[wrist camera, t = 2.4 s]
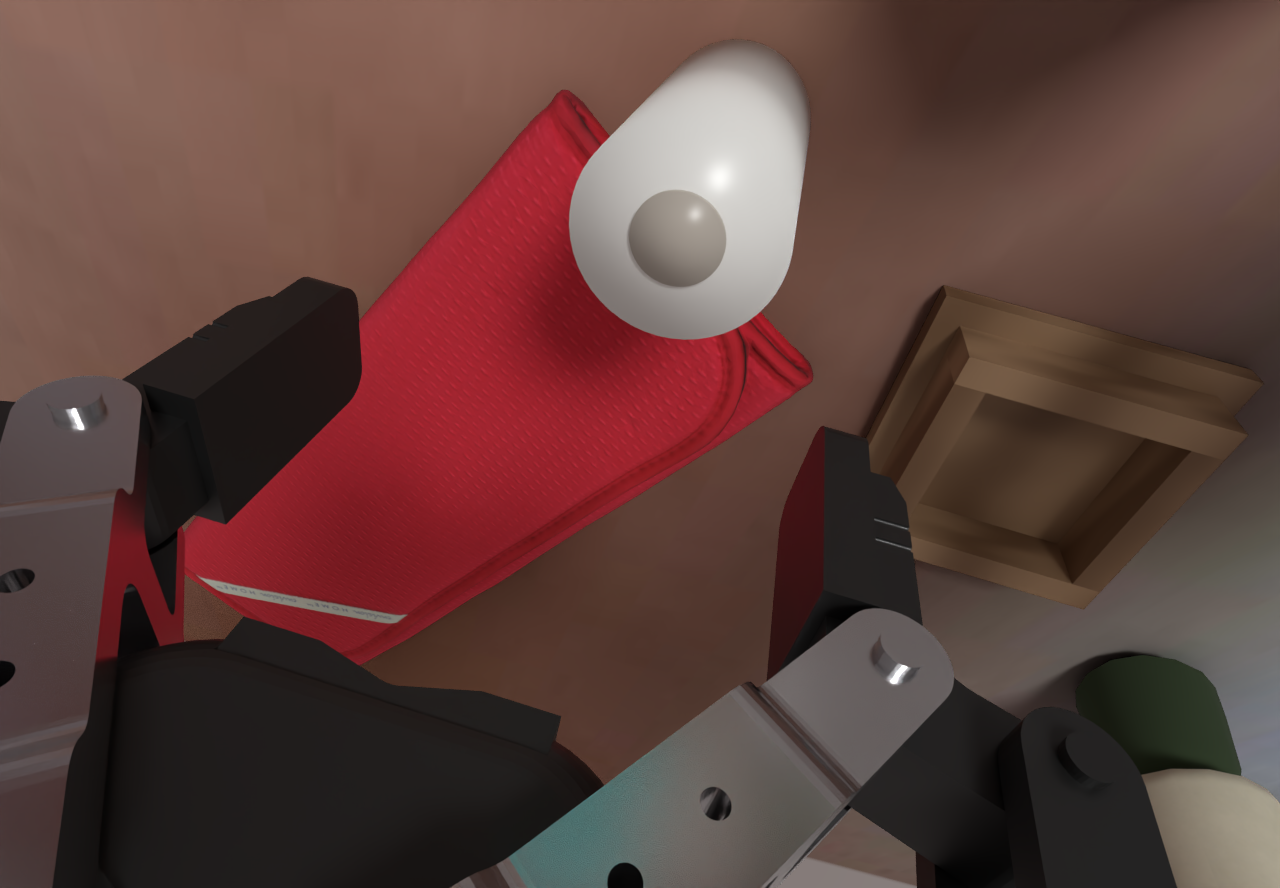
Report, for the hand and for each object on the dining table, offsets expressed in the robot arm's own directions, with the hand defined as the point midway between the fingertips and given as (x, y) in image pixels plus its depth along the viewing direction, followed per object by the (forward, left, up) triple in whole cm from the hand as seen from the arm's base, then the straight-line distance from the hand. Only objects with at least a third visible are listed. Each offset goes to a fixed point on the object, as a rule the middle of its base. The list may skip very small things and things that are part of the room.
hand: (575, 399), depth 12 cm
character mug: (-29, +21, -18) cm, 40 cm away
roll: (0, -1, -18) cm, 18 cm away
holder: (-16, +9, -18) cm, 26 cm away
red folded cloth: (+11, +21, -19) cm, 30 cm away
